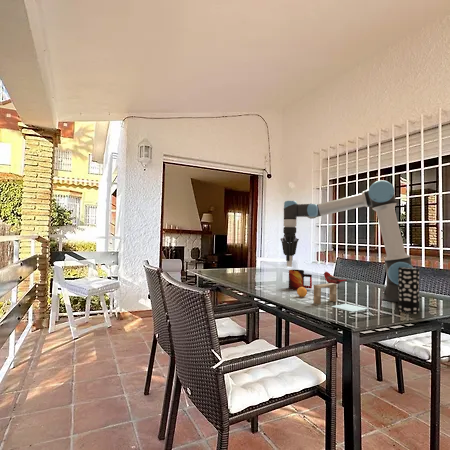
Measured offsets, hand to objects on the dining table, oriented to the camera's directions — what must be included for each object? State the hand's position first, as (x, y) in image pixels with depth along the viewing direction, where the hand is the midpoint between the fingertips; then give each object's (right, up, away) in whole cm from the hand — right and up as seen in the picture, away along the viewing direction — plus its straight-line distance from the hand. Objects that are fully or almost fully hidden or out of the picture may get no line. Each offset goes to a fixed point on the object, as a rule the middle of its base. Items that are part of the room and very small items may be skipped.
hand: (289, 266), depth 180 cm
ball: (+5, -13, -9) cm, 17 cm away
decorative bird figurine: (+37, -18, +27) cm, 49 cm away
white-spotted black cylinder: (+47, -16, -39) cm, 63 cm away
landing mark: (+22, -15, -34) cm, 43 cm away
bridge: (+14, -16, -22) cm, 31 cm away
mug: (+10, -17, +18) cm, 27 cm away
